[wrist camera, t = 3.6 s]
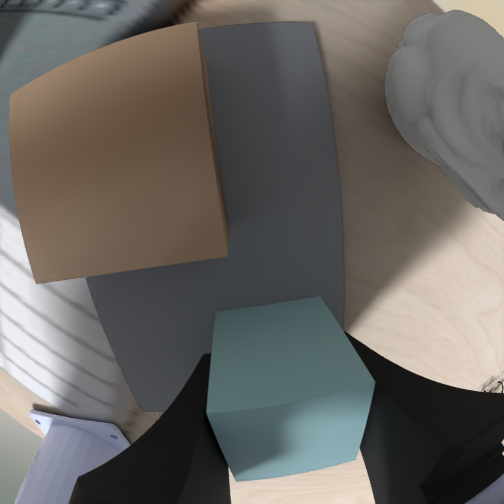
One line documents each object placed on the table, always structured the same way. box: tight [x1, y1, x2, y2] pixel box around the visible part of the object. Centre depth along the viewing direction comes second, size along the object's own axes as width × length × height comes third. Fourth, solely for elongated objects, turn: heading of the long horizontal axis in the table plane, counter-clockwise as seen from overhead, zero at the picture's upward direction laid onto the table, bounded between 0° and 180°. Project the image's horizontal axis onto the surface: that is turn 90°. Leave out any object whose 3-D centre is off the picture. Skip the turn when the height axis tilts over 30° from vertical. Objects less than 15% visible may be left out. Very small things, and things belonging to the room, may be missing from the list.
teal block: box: [206, 296, 375, 482], centre depth 9 cm, size 4×4×5 cm
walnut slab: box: [9, 21, 229, 284], centre depth 7 cm, size 6×6×3 cm
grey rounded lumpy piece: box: [385, 10, 504, 221], centre depth 6 cm, size 6×7×7 cm
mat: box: [86, 22, 344, 412], centre depth 10 cm, size 16×10×1 cm, turn 7°
